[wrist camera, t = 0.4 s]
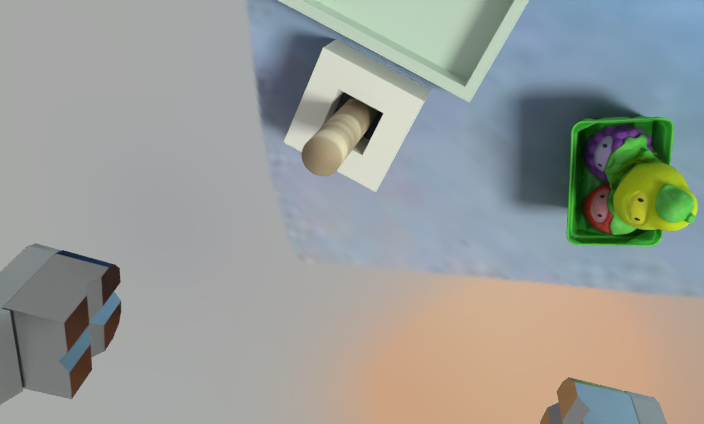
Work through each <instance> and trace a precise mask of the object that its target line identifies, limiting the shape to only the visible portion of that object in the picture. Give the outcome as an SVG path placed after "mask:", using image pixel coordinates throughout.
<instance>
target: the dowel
mask: <svg viewBox="0 0 704 424" xmlns="http://www.w3.org/2000/svg"><path fill="white" fill-rule="evenodd" d="M376 116H377V109H375V108H373V107H371V106H369V105H367V104H365V103H364V102H362V101H360V100H358V99H356V98H354V97H351V98H350V99H349V100H348V101H347V102H346V103H345V104H344V105H343V106H342V107H341V108H340V109H339V110H338V111H337V112H336V113H335V114H334V115H333V116H332V117H331V118H330V119H329V120H328V121H327V122H326V123H325V124H324V125H323V126H322V127H321V128H320V129H319V130H318V131H317V132H316V133H315V134H314V136H313V137H312V138H311V139H310V140H309V141H308V142H307V143H306V144H305V145H304V147H303V149H302V160H303V163H304V165H305V166H306V168H307V169H308V170H309V171H310V172H312V173H313V174H315V175H318V176H329V175H331V174H333V173H335V172H336V171H337V170H338V168H339V167H340V166H341V164H342V163H343V162H344V160H345V159H346V158H347V156H348V155H349V154H350V152H351V151H352V150H353V148H354V147H355V146H356V144H357V143H358V142H359V140H360V139H361V138H362V136H363V135H364V134H365V132H366V131H367V130H368V128H369V127H370V126H371V124H372V123H373V122H374V120H375V119H376Z"/></svg>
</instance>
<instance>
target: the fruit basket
mask: <svg viewBox="0 0 704 424" xmlns="http://www.w3.org/2000/svg"><path fill="white" fill-rule="evenodd" d="M673 136H674V125H673V123H672V121H670V120H669V119H667V118H661V117H645V116H637V117H634V118H628V117H604V118H599V119H597V120H595V119H591V118H584V119H583V120H582V121H580V122H578V123H576V124H575V125H574V126H573V128H572V130H571V153H570V176H569V196H568V218H567V239H568V241H569V242H570V243H572V244H574V245H600V246H642V247H651V246H655V245H657V244H658V243H659V242H660V241H661V239H662V233H663V230H664V231H676V230H680V229H682V228H684V227H686V226H687V225H688V224H689V223H692V222H694V221H695V219H696V217H695V216H696V213H697V209H698V204H697V200H696V197H695V196H694V194H693V193H692V192H691V191H690V190H689V188H688V185H687V183H686V180H685V179H684V177H683V176H682V175H681V173H680V172H678V171H677V170H676V169H675V168H673V167H671V166H670V162H671V153H672V144H673Z"/></svg>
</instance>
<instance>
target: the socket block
mask: <svg viewBox="0 0 704 424" xmlns="http://www.w3.org/2000/svg"><path fill="white" fill-rule="evenodd" d="M343 92H345V93H347V94H349V95H350V96H352V97H354V98H356V99H358V100H360V101H362V102H364V103H365V104H367V105H369V106H371V107H373V108H375V109H377V110H378V111H380V112H382V113H384V114H383V116H382V118H381V120H380V121H379V123H378V125H377V127H376V129H375V131H374V133H373V135H372V137H371V139H370V140H369V139H367V138H365V137H363V136H362V138H361V139H360V140H359V142H358V143H357V144H356V146H355V147H354V148H353V150H352V151H351V152H350V154H349V155H348V156H347V158H346V159H345V160H344V162H343V163H342V164H341V166H340V167H339V168H338V170H337V171H338V172H340V173H342V174H343V175H345V176H347V177H349V178H351V179H353V180H355V181H356V182H358V183H360V184H362V185H364V186H366V187H368V188H369V189H371V190H373V191H375V192H376V191H377V189H378V187H379V185H380V183H381V182H382V180H383V178H384V176H385V174H386V172H387V170H388V169H389V167H390V165H391V163H392V161H393V159H394V157H395V156H396V154H397V152H398V150H399V148H400V146H401V144H402V143H403V141H404V139H405V137H406V135H407V133H408V131H409V130H410V128H411V126H412V124H413V122H414V120H415V118H416V117H417V115H418V113H419V111H420V109H421V107H422V105H423V103H424V102H425V100H426V98H427V96H428V94H429V92H430V89H428V88H426V87H425V86H423V85H421V84H419V83H417V82H415V81H413V80H411V79H409V78H408V77H406V76H404V75H402V74H400V73H398V72H396V71H394V70H393V69H391V68H389V67H387V66H385V65H383V64H381V63H379V62H378V61H376V60H374V59H372V58H370V57H368V56H366V55H364V54H363V53H361V52H359V51H357V50H355V49H353V48H351V47H349V46H348V45H346V44H344V43H342V42H340V41H338V40H334V41H332V42H331V43H329V44H328V45H326V46H325V47H323V49H322V51H321V54H320V56H319V59H318V61H317V63H316V66H315V68H314V71H313V73H312V75H311V78H310V80H309V83H308V85H307V87H306V90H305V92H304V95H303V97H302V99H301V102H300V104H299V106H298V109H297V111H296V114H295V116H294V118H293V121H292V123H291V126H290V128H289V130H288V133H287V135H286V138H285V140H284V143H286V144H288V145H290V146H291V147H293V148H295V149H297V150H299V151H301V152H302V149H303V147H304V145H305V144H306V143H307V142H308V141H309V140H310V139H311V138H312V137H313V136H314V134H315V133H316V132H317V131H318V130H319V129H320V128H321V127H322V126H323V125H324V124H325V123H326V122H327V121H328V120H329V119H330V118H331V117H332V116H333V114H334V112H335V110H336V108H337V106H338V103H339V101H340V99H341V97H342V95H343Z"/></svg>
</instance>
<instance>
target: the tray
mask: <svg viewBox="0 0 704 424" xmlns="http://www.w3.org/2000/svg"><path fill="white" fill-rule="evenodd" d="M278 1H280V2H282V3H284V4H286V5H288V6H289V7H291V8H293V9H295V10H297V11H299V12H301V13H303V14H304V15H306V16H308V17H310V18H312V19H314V20H316V21H318V22H319V23H321V24H323V25H325V26H327V27H329V28H331V29H333V30H334V31H336V32H338V33H340V34H342V35H344V36H346V37H348V38H349V39H351V40H353V41H355V42H357V43H359V44H361V45H363V46H365V47H366V48H368V49H370V50H372V51H374V52H376V53H378V54H380V55H381V56H383V57H385V58H387V59H389V60H391V61H393V62H395V63H396V64H398V65H400V66H402V67H404V68H406V69H408V70H410V71H411V72H413V73H415V74H417V75H419V76H421V77H423V78H425V79H427V80H428V81H430V82H432V83H434V84H436V85H438V86H440V87H442V88H443V89H445V90H447V91H449V92H451V93H453V94H455V95H457V96H458V97H460V98H462V99H464V100H466V101H468V102H470V101H471V99H472V98H473V96H474V94H475V92H476V91H477V89H478V87H479V86H480V84H481V82H482V80H483V79H484V77H485V75H486V73H487V72H488V70H489V68H490V67H491V65H492V63H493V61H494V60H495V58H496V56H497V55H498V53H499V51H500V49H501V48H502V46H503V44H504V43H505V41H506V39H507V37H508V36H509V34H510V32H511V30H512V29H513V27H514V25H515V24H516V22H517V20H518V18H519V17H520V15H521V13H522V12H523V10H524V8H525V6H526V5H527V3H528V1H529V0H278Z"/></svg>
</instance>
